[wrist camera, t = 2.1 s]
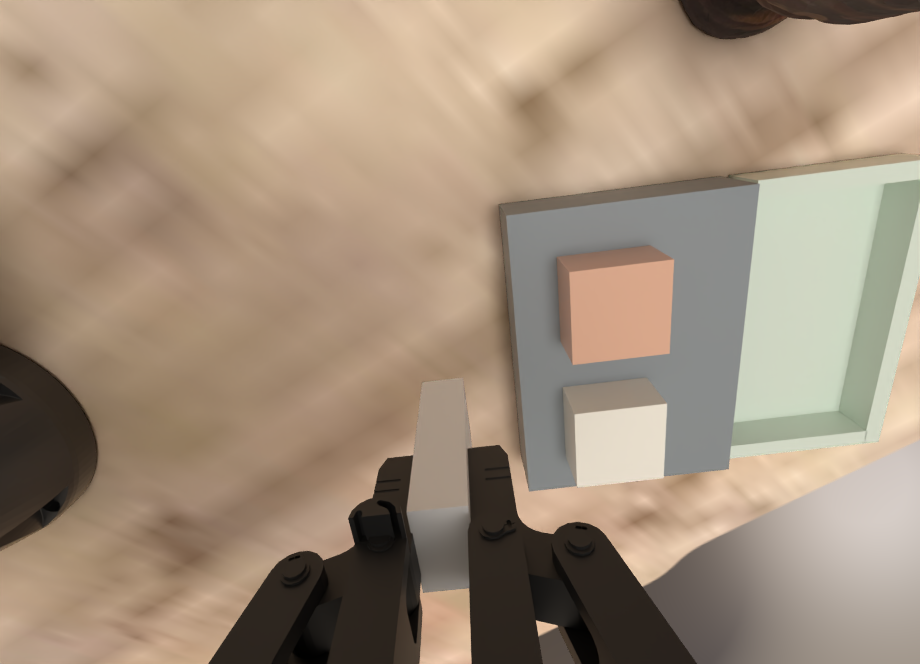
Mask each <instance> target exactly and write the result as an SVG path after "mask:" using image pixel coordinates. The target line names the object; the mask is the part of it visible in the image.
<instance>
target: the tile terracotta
mask: <svg viewBox="0 0 920 664" xmlns="http://www.w3.org/2000/svg"><path fill="white" fill-rule="evenodd" d="M673 273H674V259H673V258H671V257H669V256H668V255H666V254H664V253H663V252H661V251H659V250H658V249H656V248H654V247H652V246H651V245H648V246H640V247H632V248H624V249H616V250H608V251H600V252H592V253H584V254H576V255H567V256H559V257H557V275H558V296H559V318H560V340H561V343H562V345H563V347H564V349H565V351H566V353H567V355H568V357H569V359H570V361H571V363H572V365H577V364H586V363H594V362H603V361H611V360H620V359H628V358H637V357H645V356H654V355H662V354H670V335H671V314H672V293H673Z"/></svg>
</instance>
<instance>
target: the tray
mask: <svg viewBox="0 0 920 664" xmlns="http://www.w3.org/2000/svg"><path fill="white" fill-rule="evenodd" d="M729 178H732V179H737V180H743V181H748V182H753V183H758V184H760V187H759V196H758V205H757V215H756V224H755V233H754V242H753V251H752V260H751V269H750V278H749V287H748V296H747V305H746V315H745V324H744V333H743V342H742V351H741V360H740V369H739V378H738V387H737V396H736V405H735V415H734V424H733V433H732V442H731V451H730V458H739V457H748V456H757V455H766V454H775V453H784V452H793V451H802V450H811V449H819V448H828V447H837V446H846V445H855V444H864V443H873V442H879V438H880V434H881V430H882V426H883V422H884V417H885V413H886V409H887V405H888V401H889V397H890V393H891V389H892V385H893V381H894V377H895V373H896V369H897V365H898V361H899V357H900V353H901V349H902V345H903V341H904V337H905V333H906V329H907V325H908V321H909V317H910V312H911V308H912V304H913V300H914V296H915V292H916V288H917V284H918V280H919V276H920V155H918V154H902V153H900V154H892V155H885V156H877V157H869V158H861V159H853V160H845V161H837V162H829V163H821V164H813V165H805V166H797V167H790V168H782V169H774V170H766V171H758V172H750V173H742V174H734V175H729Z"/></svg>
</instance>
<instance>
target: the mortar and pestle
mask: <svg viewBox="0 0 920 664" xmlns="http://www.w3.org/2000/svg"><path fill="white" fill-rule="evenodd" d="M681 1H682V3H683V6H684V9H685V10H686V12H687V14H688V16H689V18H690V19H691V21H692V23H693V24H694V25H695V26H696V27H698V28H699V29H701V30H703V31H704V32H706V33H707V34H709V35H711V36H714V37H717V38H720V39H736V38H745V37H749V36H752V35H756V34H759V33H762V32H764V31H766V30H768V29H770V28H772V27H774V26H775V25H777V24H778V23H780V22H781V21H783V20H784V19H786V18H787V17H789V18H795V19H816V20H818V21H821V22H824V23H830V24H845V25H850V24H859V23H866V22H871V21H875V20H879V19H884V18H889V17H895V16H899V15H903V14H907V13H911V12H918V11H920V0H681Z"/></svg>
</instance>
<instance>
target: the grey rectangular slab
mask: <svg viewBox="0 0 920 664" xmlns="http://www.w3.org/2000/svg"><path fill="white" fill-rule="evenodd" d="M759 187H760V184H758V183H753V182H748V181H743V180H737V179H732V178H727V177H721V176H718V177H710V178H703V179H695V180H687V181H679V182H671V183H663V184H655V185H647V186H639V187H631V188H623V189H616V190H608V191H600V192H592V193H584V194H576V195H568V196H560V197H552V198H544V199H536V200H528V201H521V202H513V203H505V204H499V211H500V222H501V234H502V245H503V256H504V268H505V279H506V290H507V302H508V313H509V324H510V336H511V347H512V358H513V370H514V381H515V392H516V404H517V415H518V426H519V438H520V449H521V457H522V461H523V466H524V470H525V475H526V479H527V484H528V488H529V491H537V490H546V489H555V488H564V487H573V486H576V483H575V480H574V477H573V475H572V472H571V469H570V466H569V463H568V461H567V458H566V449H565V427H564V406H563V387H569V386H578V385H587V384H595V383H604V382H612V381H621V380H629V379H638V378H647V379H648V380H649V381H650V382H651V384H652V385H653V386H654V388H655V389H656V390H657V391H658V393H659V394H660V395H661V396H662V398H663V399H664V400H665V402H666V403H667V418H666V439H665V460H664V476H671V475H680V474H689V473H698V472H707V471H716V470H725V469H729V460H730V451H731V442H732V433H733V424H734V415H735V405H736V396H737V387H738V378H739V369H740V360H741V351H742V342H743V333H744V324H745V315H746V305H747V296H748V287H749V278H750V269H751V260H752V251H753V242H754V233H755V224H756V215H757V205H758V196H759ZM648 245H651V246H652V247H654V248H656V249H658V250H659V251H661V252H663V253H664V254H666V255H668V256H669V257H671V258H673V259H674V273H673V293H672V314H671V335H670V354H662V355H654V356H645V357H637V358H628V359H620V360H611V361H603V362H594V363H586V364H577V365H572V363H571V361H570V359H569V357H568V355H567V353H566V351H565V349H564V347H563V345H562V343H561V340H560V318H559V296H558V275H557V257H559V256H567V255H576V254H584V253H592V252H600V251H608V250H616V249H624V248H632V247H640V246H648Z"/></svg>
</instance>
